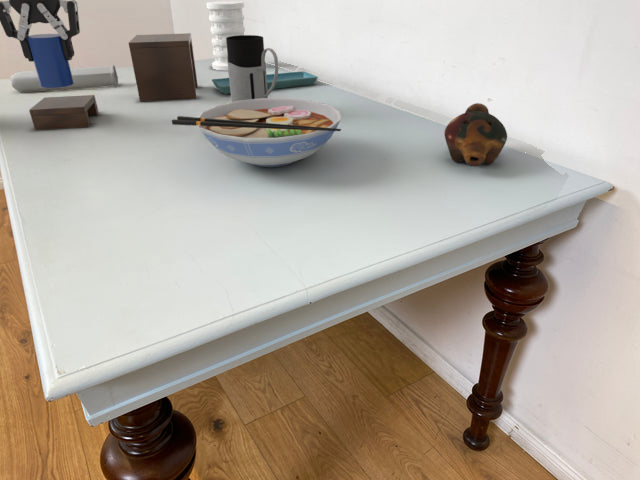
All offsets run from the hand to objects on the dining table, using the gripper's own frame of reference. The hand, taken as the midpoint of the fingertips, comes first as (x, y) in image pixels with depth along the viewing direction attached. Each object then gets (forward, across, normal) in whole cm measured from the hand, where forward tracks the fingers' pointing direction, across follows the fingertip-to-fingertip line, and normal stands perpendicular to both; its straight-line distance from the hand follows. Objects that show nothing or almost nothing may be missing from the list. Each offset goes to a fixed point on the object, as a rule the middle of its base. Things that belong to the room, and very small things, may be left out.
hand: (50, 59), depth 93 cm
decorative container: (+12, -35, -52) cm, 64 cm away
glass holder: (+12, -39, +3) cm, 41 cm away
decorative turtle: (+11, -71, +38) cm, 82 cm away
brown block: (+12, -19, -20) cm, 30 cm away
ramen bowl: (+12, -39, +31) cm, 51 cm away
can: (+5, 0, 0) cm, 5 cm away
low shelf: (+12, 0, 0) cm, 12 cm away
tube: (+12, +8, -32) cm, 35 cm away
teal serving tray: (+12, -43, -22) cm, 50 cm away
